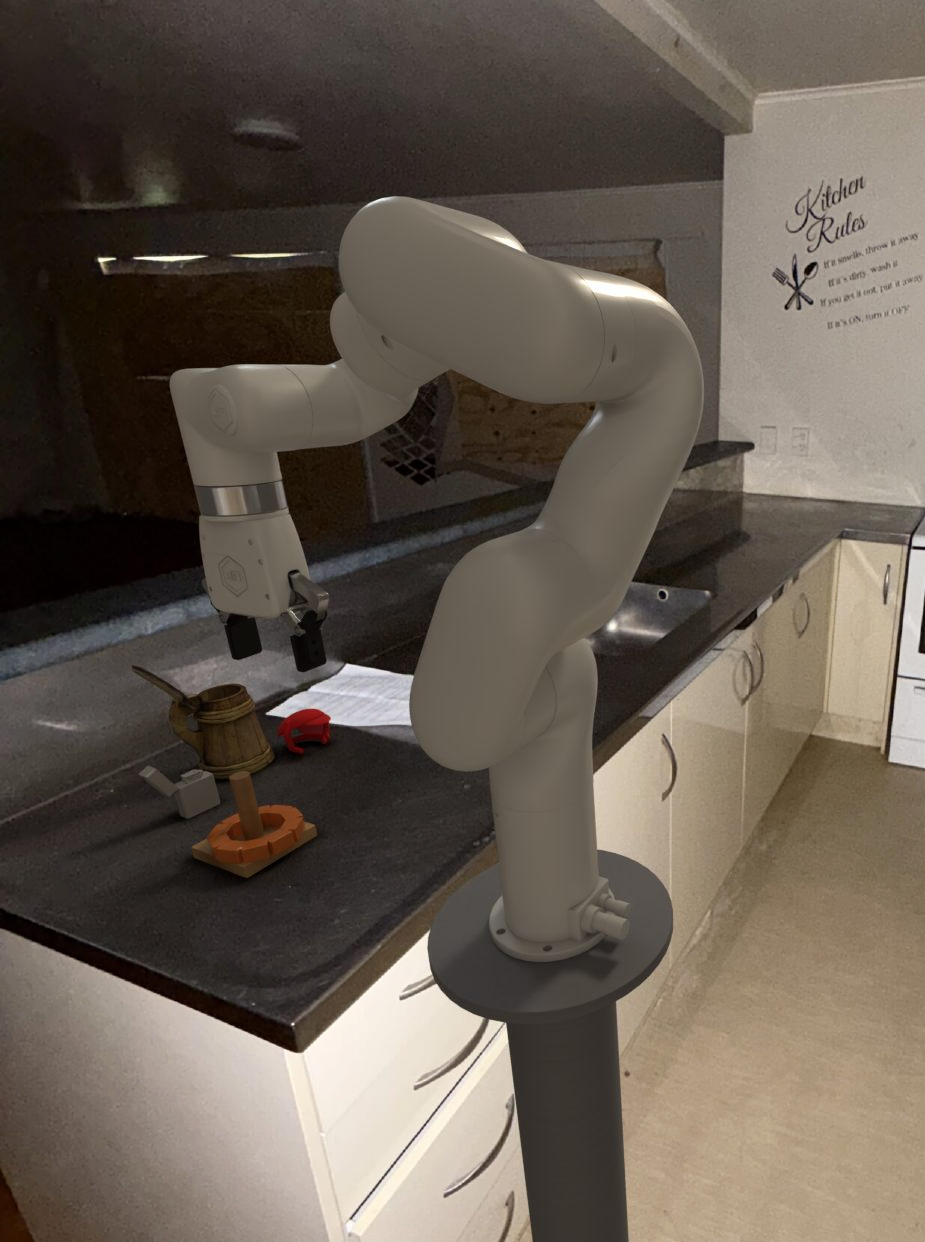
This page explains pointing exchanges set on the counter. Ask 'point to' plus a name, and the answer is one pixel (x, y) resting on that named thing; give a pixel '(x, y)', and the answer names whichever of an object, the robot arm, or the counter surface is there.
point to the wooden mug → (218, 727)
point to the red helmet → (305, 727)
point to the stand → (248, 829)
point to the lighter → (186, 790)
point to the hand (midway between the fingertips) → (279, 661)
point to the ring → (258, 848)
